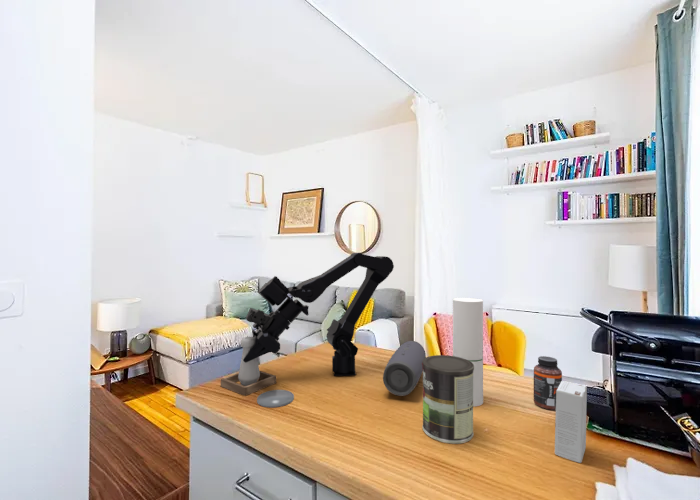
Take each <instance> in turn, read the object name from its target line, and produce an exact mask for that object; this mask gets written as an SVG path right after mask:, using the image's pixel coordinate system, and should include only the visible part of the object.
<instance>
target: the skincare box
mask: <svg viewBox="0 0 700 500" xmlns="http://www.w3.org/2000/svg"><path fill="white" fill-rule="evenodd" d="M587 391H588V387H587V385H585V384H579V383H576V382H570V381H566V380H565V381H564V380H562V381H561V383H560V385H559V387H558V389H557V390H556V410H555V421H554V422H555V423H554V426H555V427H554V428H555V429H554V454H555V455H556V456H559V457H560V458H563V459H567V460H569V461H572V462H575V463H580V464H581V463H582V462H583V459H584V456H585V455H584V454H585V452H586V448H587V442H586V441H587V405H588V403H587V400H588V399H587V398H588V392H587Z"/></svg>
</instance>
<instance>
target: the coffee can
mask: <svg viewBox="0 0 700 500" xmlns="http://www.w3.org/2000/svg"><path fill="white" fill-rule="evenodd" d="M422 364H423V371H422V430H423V432H424V433H425V435H426V436H428V437H429V438H431V439H433V440H435V441H437V442H439V443H444V444H449V445H451V444H452V445H459V444H465V443H467V442H469V441H471V440H472V439H473V438H474V406H473V370H474V364H473V363H472V362H470V361H468V360H466V359H463V358H460V357H455V356H453V355H446V354H439V355H437V354H436V355H430V356H426V358H424V359H423V361H422Z"/></svg>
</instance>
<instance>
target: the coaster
mask: <svg viewBox="0 0 700 500" xmlns="http://www.w3.org/2000/svg"><path fill="white" fill-rule="evenodd" d="M294 399H295V395H294V393H293V392H292V391H289V390H286V389H272V390H267V391H265V392H262V393H261V394H259V395H258V396H257V398H256V403H257V404H258V405H259V406H260V407H263V408H281V407H285V406H287V405H289V404H291V403H292V402H293V401H294Z"/></svg>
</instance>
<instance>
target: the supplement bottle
mask: <svg viewBox="0 0 700 500" xmlns="http://www.w3.org/2000/svg"><path fill="white" fill-rule="evenodd" d="M537 362H538V363H537V364H536V365H534V367H533V402H534V404H535V405H536V406H537V407H540V408H542V409H546V410H550V411H556V390H557V389H558V387H559V385H560V383H561V381H563V372H562V370H561V369H560V368H559V367H558V364H559V363H558V359H557V358H555V357H553V356H552V357H551V356H546V355H545V356H544V355H543V356H542V355H540V356H538V357H537Z"/></svg>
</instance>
